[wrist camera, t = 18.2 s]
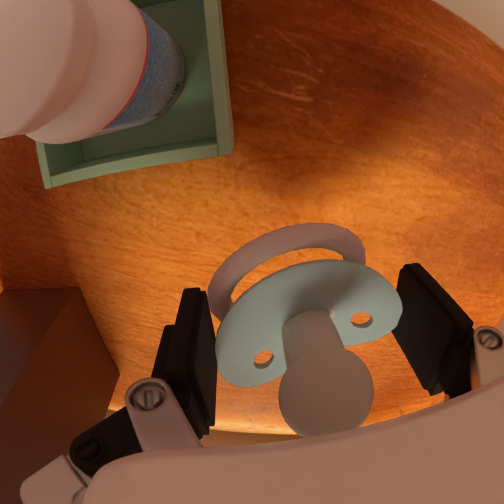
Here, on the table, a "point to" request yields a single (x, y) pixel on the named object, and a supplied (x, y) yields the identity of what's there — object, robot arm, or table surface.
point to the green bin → (173, 121)
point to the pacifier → (304, 325)
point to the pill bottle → (83, 68)
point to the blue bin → (47, 380)
